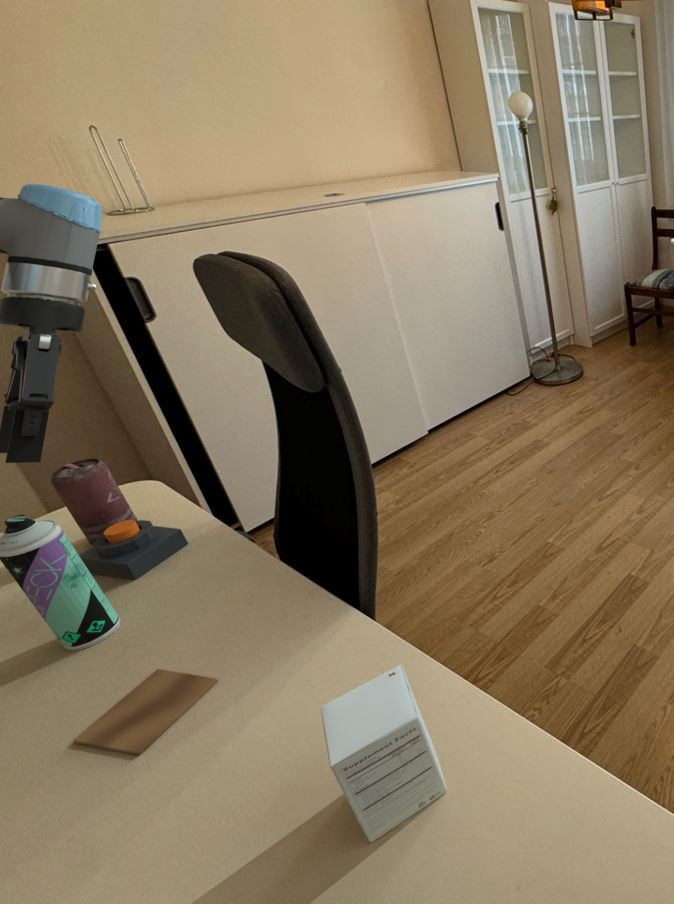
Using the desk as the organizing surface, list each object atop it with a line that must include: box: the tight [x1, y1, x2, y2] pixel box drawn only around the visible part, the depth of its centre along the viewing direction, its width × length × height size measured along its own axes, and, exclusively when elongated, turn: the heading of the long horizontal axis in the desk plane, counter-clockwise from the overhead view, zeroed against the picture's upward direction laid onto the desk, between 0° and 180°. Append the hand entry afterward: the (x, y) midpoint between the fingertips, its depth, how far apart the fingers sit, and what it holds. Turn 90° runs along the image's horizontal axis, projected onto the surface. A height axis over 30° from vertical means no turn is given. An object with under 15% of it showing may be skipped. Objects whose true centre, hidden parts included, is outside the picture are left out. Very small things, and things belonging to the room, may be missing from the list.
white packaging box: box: [320, 664, 448, 844], centre depth 55 cm, size 7×7×13 cm
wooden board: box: [72, 668, 219, 756], centre depth 66 cm, size 9×9×1 cm
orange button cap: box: [104, 520, 140, 543], centre depth 87 cm, size 4×4×2 cm
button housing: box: [78, 519, 189, 581], centre depth 89 cm, size 10×8×5 cm
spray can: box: [0, 514, 122, 652], centre depth 72 cm, size 6×6×20 cm
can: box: [50, 458, 139, 546], centre depth 92 cm, size 6×6×14 cm
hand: (16, 457), depth 73 cm, fingers open, 13 cm apart
